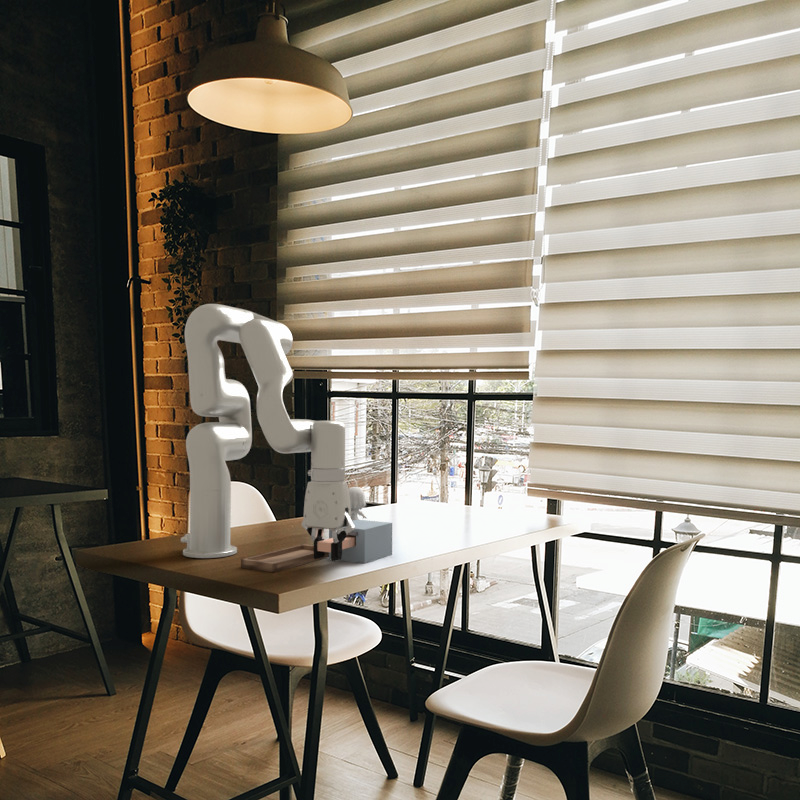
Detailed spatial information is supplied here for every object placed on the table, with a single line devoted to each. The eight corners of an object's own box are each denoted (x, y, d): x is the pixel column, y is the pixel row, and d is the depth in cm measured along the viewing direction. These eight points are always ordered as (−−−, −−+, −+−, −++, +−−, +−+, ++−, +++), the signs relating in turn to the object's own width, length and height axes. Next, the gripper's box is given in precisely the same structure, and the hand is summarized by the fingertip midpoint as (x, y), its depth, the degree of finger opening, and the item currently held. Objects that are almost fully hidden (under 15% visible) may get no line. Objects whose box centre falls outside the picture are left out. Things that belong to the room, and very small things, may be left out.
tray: (240, 567, 159) (241, 559, 159) (302, 551, 178) (302, 544, 178) (274, 572, 154) (274, 563, 154) (334, 555, 173) (334, 547, 173)
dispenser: (327, 559, 168) (327, 526, 169) (357, 550, 179) (357, 519, 179) (363, 563, 163) (363, 529, 164) (392, 554, 174) (392, 522, 174)
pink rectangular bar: (317, 550, 160) (317, 541, 160) (357, 539, 174) (357, 531, 174) (331, 552, 158) (331, 543, 158) (371, 541, 172) (371, 532, 172)
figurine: (357, 540, 193) (357, 484, 193) (375, 543, 190) (376, 485, 190) (332, 546, 184) (332, 487, 185) (351, 549, 181) (351, 489, 181)
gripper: (287, 475, 162) (287, 558, 161) (349, 479, 153) (349, 566, 153) (308, 473, 168) (307, 552, 168) (369, 476, 160) (368, 560, 159)
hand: (327, 558), depth 160 cm, fingers closed on pink rectangular bar, 4 cm apart
